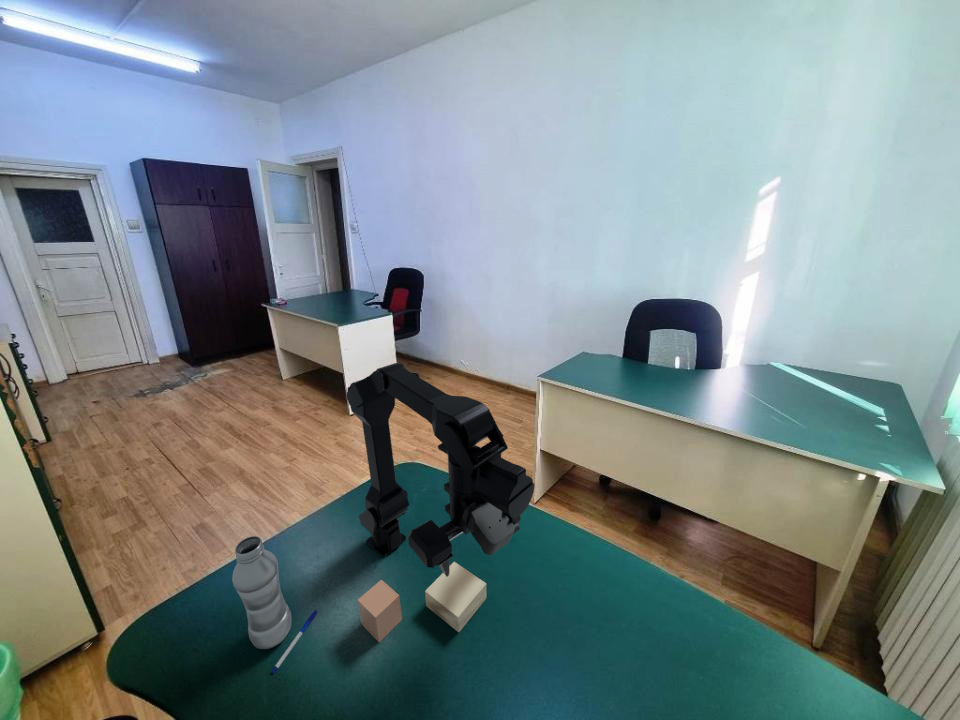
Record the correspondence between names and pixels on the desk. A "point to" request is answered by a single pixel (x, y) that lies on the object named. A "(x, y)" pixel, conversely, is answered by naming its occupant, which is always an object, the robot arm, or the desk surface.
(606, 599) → the desk surface
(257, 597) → the plastic bottle
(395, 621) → the terracotta block
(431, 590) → the beech block
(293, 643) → the ballpoint pen
